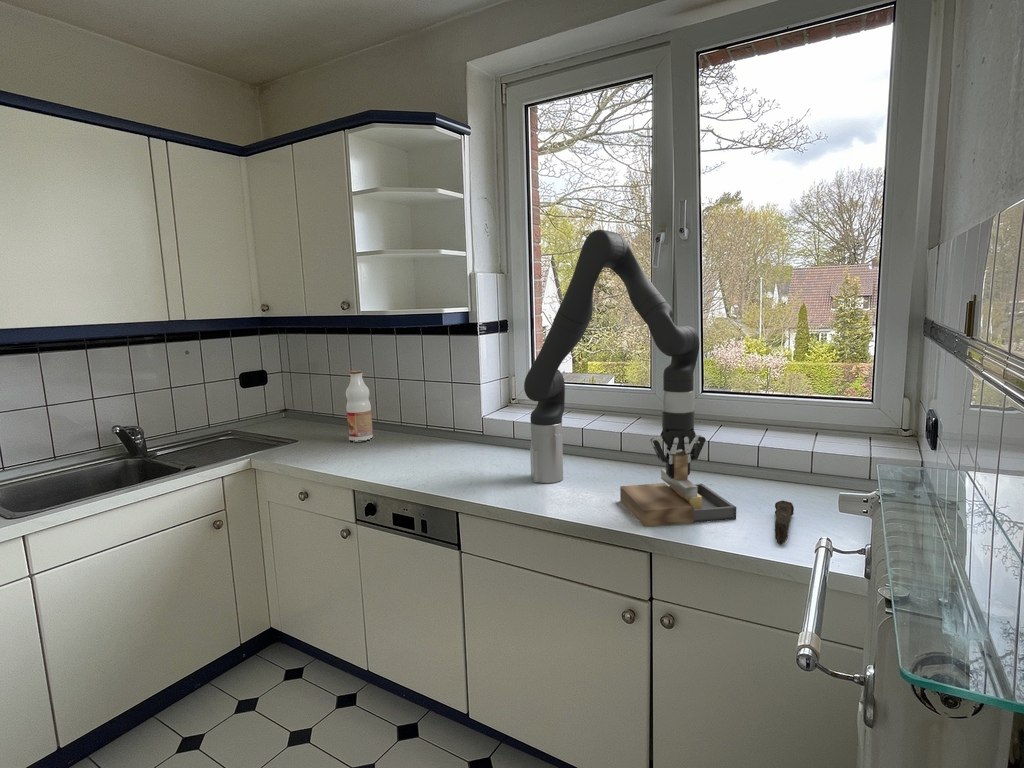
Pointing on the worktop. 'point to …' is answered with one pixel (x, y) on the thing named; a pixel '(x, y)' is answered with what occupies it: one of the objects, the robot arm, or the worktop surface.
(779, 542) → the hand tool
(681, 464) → the oak scraper
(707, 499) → the box
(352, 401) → the fruit juice
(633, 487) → the walnut slab
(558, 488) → the worktop surface
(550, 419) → the robot arm
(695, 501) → the yellow block
